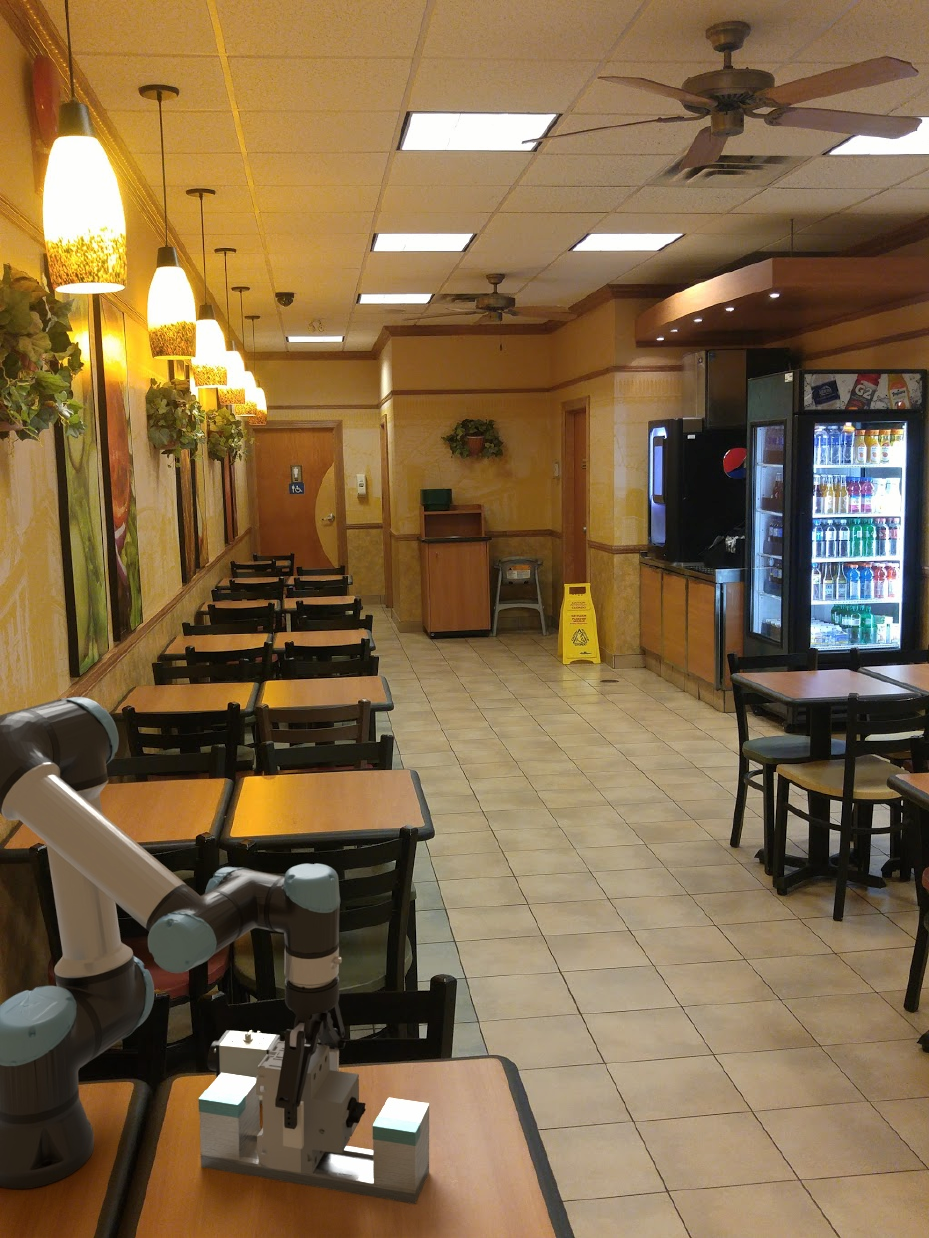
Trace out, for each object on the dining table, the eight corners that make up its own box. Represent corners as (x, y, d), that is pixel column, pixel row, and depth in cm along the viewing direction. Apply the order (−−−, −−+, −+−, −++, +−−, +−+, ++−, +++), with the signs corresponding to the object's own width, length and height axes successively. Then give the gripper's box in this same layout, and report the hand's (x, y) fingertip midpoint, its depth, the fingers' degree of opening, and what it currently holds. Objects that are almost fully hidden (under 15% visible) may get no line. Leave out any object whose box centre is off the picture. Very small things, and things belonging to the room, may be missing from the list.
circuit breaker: (354, 1180, 150) (353, 1079, 148) (257, 1165, 153) (255, 1066, 151) (370, 1147, 157) (369, 1050, 155) (277, 1134, 160) (276, 1039, 158)
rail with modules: (200, 1167, 155) (198, 1098, 154) (222, 1138, 162) (221, 1072, 161) (415, 1204, 148) (415, 1132, 146) (429, 1172, 155) (429, 1102, 153)
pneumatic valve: (280, 1116, 168) (279, 1044, 166) (208, 1109, 170) (206, 1037, 168) (291, 1096, 173) (290, 1026, 172) (221, 1089, 175) (219, 1019, 173)
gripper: (303, 1023, 138) (303, 1176, 141) (366, 942, 162) (365, 1074, 165) (248, 1015, 140) (250, 1166, 143) (319, 936, 164) (319, 1066, 167)
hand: (312, 1117), depth 154 cm, fingers open, 13 cm apart
